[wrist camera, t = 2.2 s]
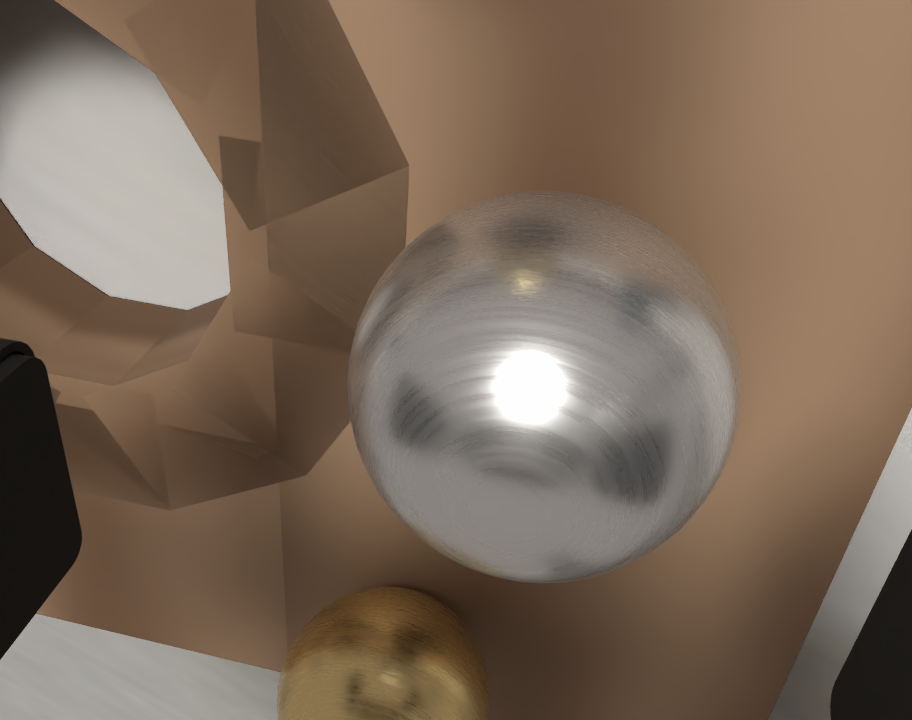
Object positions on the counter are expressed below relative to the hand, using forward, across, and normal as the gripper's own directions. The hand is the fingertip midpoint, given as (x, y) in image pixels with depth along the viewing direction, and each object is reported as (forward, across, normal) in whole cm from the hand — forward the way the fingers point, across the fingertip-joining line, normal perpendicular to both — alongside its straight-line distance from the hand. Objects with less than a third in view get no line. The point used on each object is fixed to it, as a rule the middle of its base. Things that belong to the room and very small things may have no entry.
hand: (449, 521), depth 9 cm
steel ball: (+2, -1, 0) cm, 3 cm away
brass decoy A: (+3, +1, +8) cm, 8 cm away
